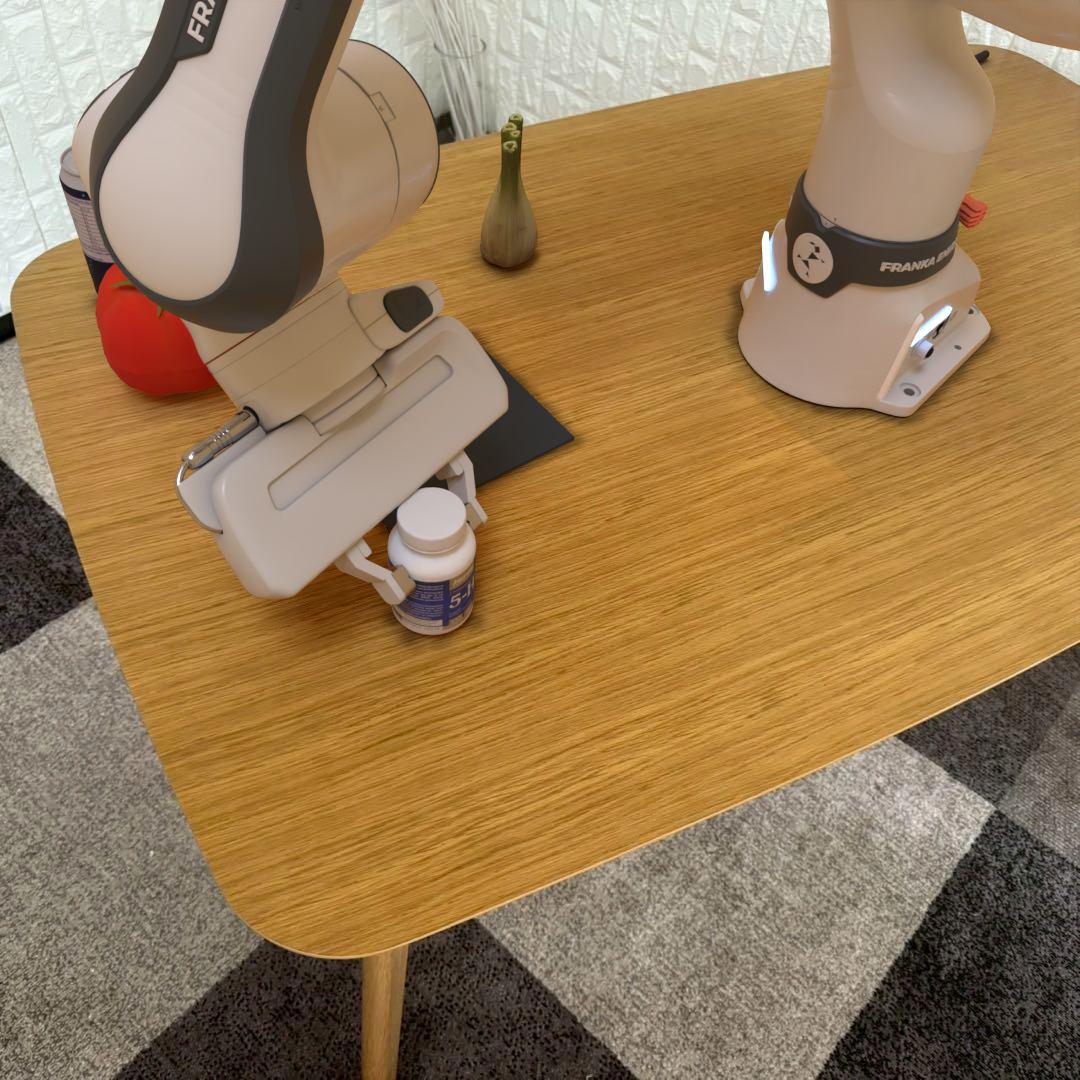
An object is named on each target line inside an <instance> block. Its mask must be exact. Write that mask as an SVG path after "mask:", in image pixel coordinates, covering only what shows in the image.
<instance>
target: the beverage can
mask: <svg viewBox="0 0 1080 1080" xmlns="http://www.w3.org/2000/svg"><path fill="white" fill-rule="evenodd" d="M59 165H60V170H59V174H58V179H59V183H60V185H61V188H62V189H61V190H62V192H63V194H64V195H63V196H64V198H65V201H66V203H67V207H68V210H69V213H70V216H71V220H72V222H73V225H74V228H75V231H76V234H77V238H78V240H79V243H80V247H81V249H82V253H83V256H84V258H85V262H86V265H87V268H88V271H89V274H90V277H91V281H92V283H93V287H94V289H95V292H96V294H97V295H98V291H99V286H100V284H101V282H102V280H103V278H104V276H105V273H106V271H107V270H108V269H109V268H110V267H111V266H112V265H113V264H114V263H115V262H114V261H113V259H112V257H111V256H110V254H109V252H108V250H107V248H106V246H105V244H104V242H103V240H102V238H101V235H100V233H99V230H98V227H97V224H96V220H95V217H94V212H93V208H92V202H91V199H90V197H89V195H88V193H87V191H86V189H85V187H84V185H83V182H82V180H81V178H80V175H79V173H78V170H77V167H76V164H75V161H74V158H73V154H72V145H70V146H68V147H67V148H66V149H64V151H63V152H62V153H61V154H60V156H59Z"/></svg>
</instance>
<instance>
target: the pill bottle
mask: <svg viewBox="0 0 1080 1080" xmlns="http://www.w3.org/2000/svg"><path fill="white" fill-rule="evenodd" d="M476 560H477V540H476V536H475V533H473V531H472V529H471V527H470V526H469V524H468V523H467V518H466V508H465V506H464V504H463V502H462V500H461V499H460V498H459V497H458V496H457V495H455V494H454V493H452V492H450V491H448V490H445V489H442V488H435V487H430V488H422V489H418V490H416V491H415V492H413V493H412V494H411V495H410V496H409V497H408V498H407V499H405V500H404V501H403V502H402V503H401V504H400V505H399V507H398V510H397V524H396V525H395V526H394V527H393V529H392V530H391V531H390V533H389V536H388V539H387V563H388V564H387V566H393V567H394V566H396V565H401V564H402V565H403V566H404V567H405V569H406V570H407V572H408V573H409V578H411V579H413V580H414V581H415V583H416V586H417V587H416V589H415V590H414V591H413V592H412V593H410V594H409V595H408V596H407V597H406V598H405V600H404V601H402V602H401V603H400V604H394V605H390V606H391V610H392V613H393V615H394V616H395V618H396V620H397V621H398V622H399V623H400V624H401V625H402V626H404V628H406V629H408V630H410V631H412V632H414V633H416V634H421V635H425V636H438V635H443V634H447V633H451V632H453V631H454V630H457V629H458V628H459V627H461V626H462V625H463V624H464V623H465V622H466V621H467V620H468V618H469V617H470V615H471V613H472V611H473V608H474V603H475V585H476V584H475V583H476V582H475V581H476V580H475V579H476V564H477V563H476Z"/></svg>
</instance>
